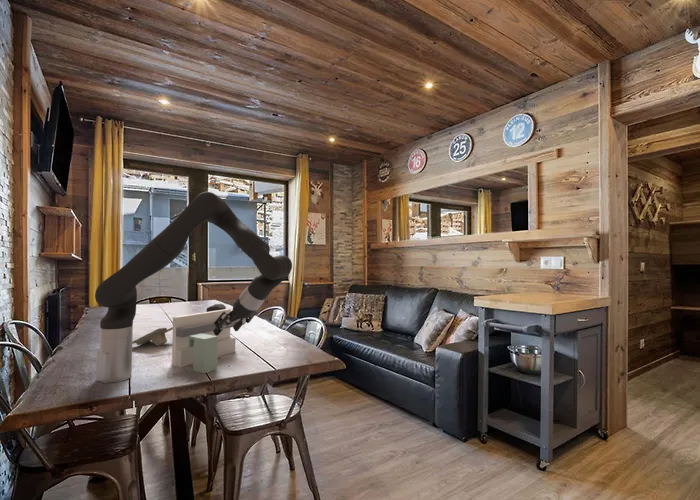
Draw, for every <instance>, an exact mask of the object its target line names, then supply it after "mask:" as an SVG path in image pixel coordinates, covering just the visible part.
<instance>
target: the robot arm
mask: <svg viewBox="0 0 700 500" xmlns="http://www.w3.org/2000/svg"><path fill="white" fill-rule="evenodd" d="M204 222H208V223H210V224H213V225H215V226H216V227H218V228H219V229H221V231H224V232H225V233H226V234H227V235H228V236H229V237H230V238H231V239H232V241H233V243H235V245H236V246H237V247H238V248H239V250H241V252H243V253H244V254H245V255H246V256H247V257H248V258H249V259H251V261H252V262H253V264H254V265H255V266H256V268H257V270H258V272H259V273H260V274H258V275H256V276H255V277H254V278H253V280H251V282H249V285H248V286H247V287H246V288H244V289H243V291H242V292H241V293H240V294H239V295H238V297H237V298H236V299H235V301H234V302H233V305H232V309H231V312H229V314H226V313H225V312H223V313H222V314H221V315H220V316H219V317H218V319H217V320H216V321H215V322H214V325H215V326H216V328H215V329H214V330H213V332H214V334H215V336H218V335H219V334H220V332H221V331H222V330H223V329H224V328H225V327H227V326H230V325H232V324H233V323H235V322H236V324H235V325H234V326H233V327H232V328H233V330H234V332H238V331H239V330H240V329H241V328H242V326H244V325H246V324H249V323H250V322H251V321H252V320H253V318H254V317H255V316H256V315H257V310H258V309H259V308H260V307H261V306H262V305H263V303H264V302H265V300H266V299H267V298H268V296H270V294H271V293H272V292H273V290H274V289H275V288H276V287H278V286H279V284H281V283H282V282H283V281H284V280H286V278H288V276H289V275H290V274H291V272H292V268H293V263H292V260H291V259H290V258H289V257H288V256H287V255H280V254H279V255H276V256H272V255H271V254H270V251H271V250H270V249H271V248H270V246H269V244H268V243H267V242H266V241H265V240H264V239H263V238H262V237H260V236H259V235H258V234H257V233H256V232H254V231H253V230H252V229H250V228H249V227H248V226H247V225H246V224H245V223H243V222H242V221H241V220H240V219H239V218H238V217H237V215H236V214H235V213H234V212H233V210H232V209H231V208H230V206H229V205H228V204H227V202H226V201H225V200H224V199H223V198H221V196H218V195H217V194H216V193H214V192H212V191H204V192H201V193H199V194H198V195H196V196H195V197H194V198H193V199H192V200H191V202H189V204H188V205H187V206H186V207H185V208H184V209H183V211H182V212H181V213H180V214H179V215H178V216H177V217H176V218H175V219H174V220H172V222H171V223H170V224H169V225H167V226H166V227H165V228H164V229H163V230H162V231H160V233H159V234H157V235H156V236H155V237H154V238H153V239H151V240H150V241H148V243H147V244H145V246H144V247H142V248H141V249H140V251H138V252H137V253H136V254H135V255H134V256H133V257H132V258H131V259H130V260H129V261H128V262H127V263H126V264H125V265H124V266H122V267H121V268H120V269H118V270H117V271H115V272H114V273H113V274H111V275H110V276H108V278H106V279H105V280H103V281H101V282H100V284H99V285H98V286H97V287H96V290H95V294H94V299H95V302H96V303H97V304H98V305H99V306H101V307H102V308H107V311H106V314H105V315H104V316H103V317H102V318H101V319H100V322H99V350H97V351H96V356H95V357H96V360H95V361H96V362H95V363H96V364H95V381H97V382H99V383H102V384H110V383H117V382H121V381H125V380H128V379H130V378H131V377H132V375H133V373H132V371H133V344H132V342H133V333H134V332H133V331H134V329H133V328H134V327H133V325H134V319H135V316H136V313H137V304H138V303H137V299H138V291H137V289H138V288H137V285H139V284H140V283H141V282H142V281H144V280H146V279H147V278H149V277H151V276H153V275H154V274H156V273H158V272H159V271H160V272H161V270H162V269H164V268H166V267H167V266H168V265H170V264H171V263H172V262H173V261H174V260H175V259H176V258H177V257H179V255H180V254H181V253H182V252H183V251H184V249H185V247H186V244H187V242H188V239H189V237H190V236H191V234H192V232H193V231H194V230H196V228H197V227H199V226H200V225H201V224H202V223H204ZM228 318H229V320H230V323H228ZM224 323H226V324H225V325H223V324H224Z"/></svg>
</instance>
